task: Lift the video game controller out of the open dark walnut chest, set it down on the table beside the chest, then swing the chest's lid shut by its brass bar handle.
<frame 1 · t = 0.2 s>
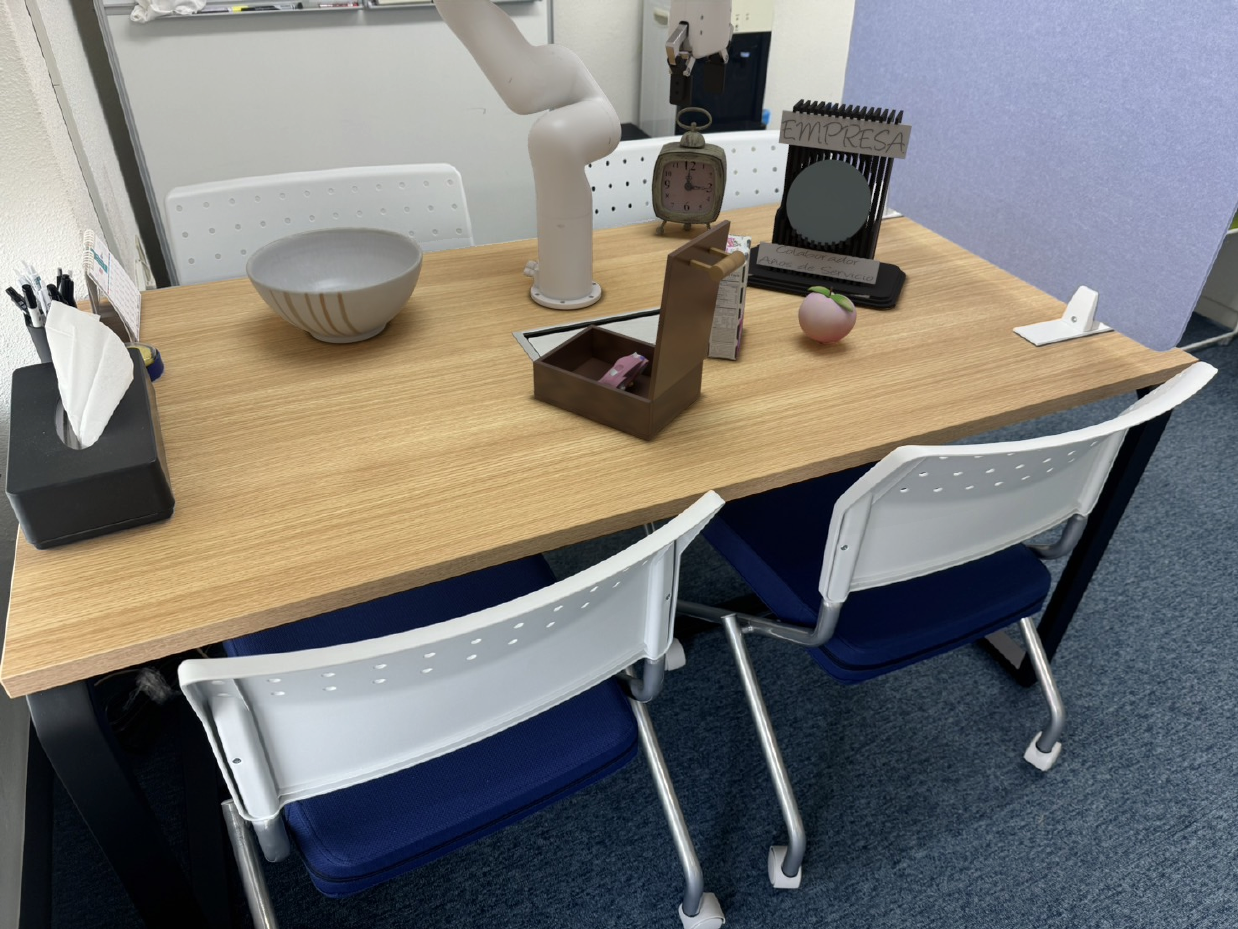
hand: (697, 98, 123), 37 cm above the table, tool pointing down, fingers open, 9 cm apart
decorative fruit: (820, 345, 141), on the table
candy bar box: (724, 344, 141), on the table
decorative bowl: (348, 327, 143), on the table
chest: (617, 396, 126), on the table
award: (817, 279, 163), on the table
tabletop clock: (686, 233, 181), on the table
chest lid: (704, 317, 111), point 16 cm above the table, hinge at 95.0°
video game controller: (617, 393, 126), point 1 cm above the table, touching chest
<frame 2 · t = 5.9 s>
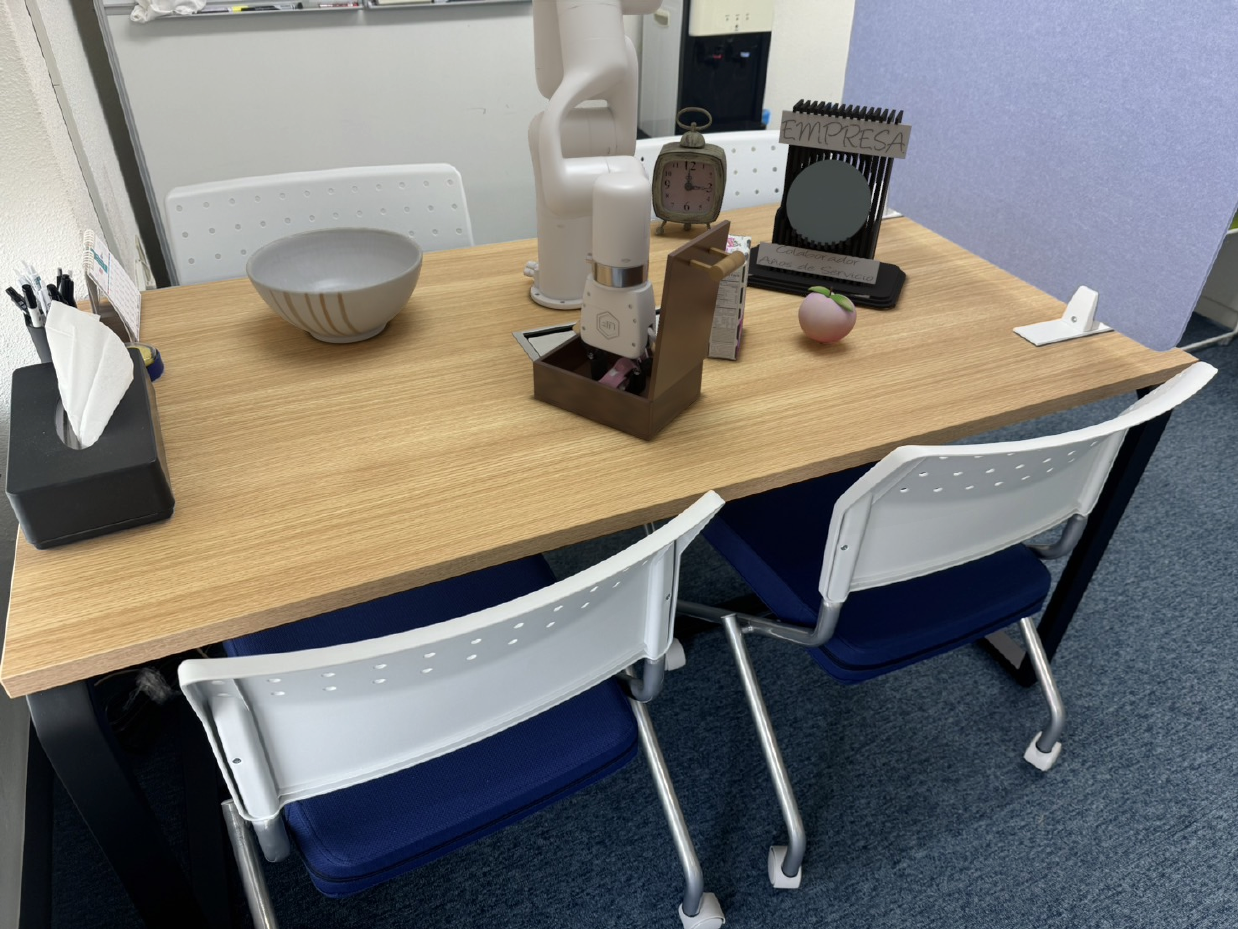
hand: (617, 386, 125), 2 cm above the table, tool pointing down, fingers closed on video game controller, 5 cm apart
video game controller: (618, 393, 126), point 1 cm above the table, touching chest, gripper
everything else where it was.
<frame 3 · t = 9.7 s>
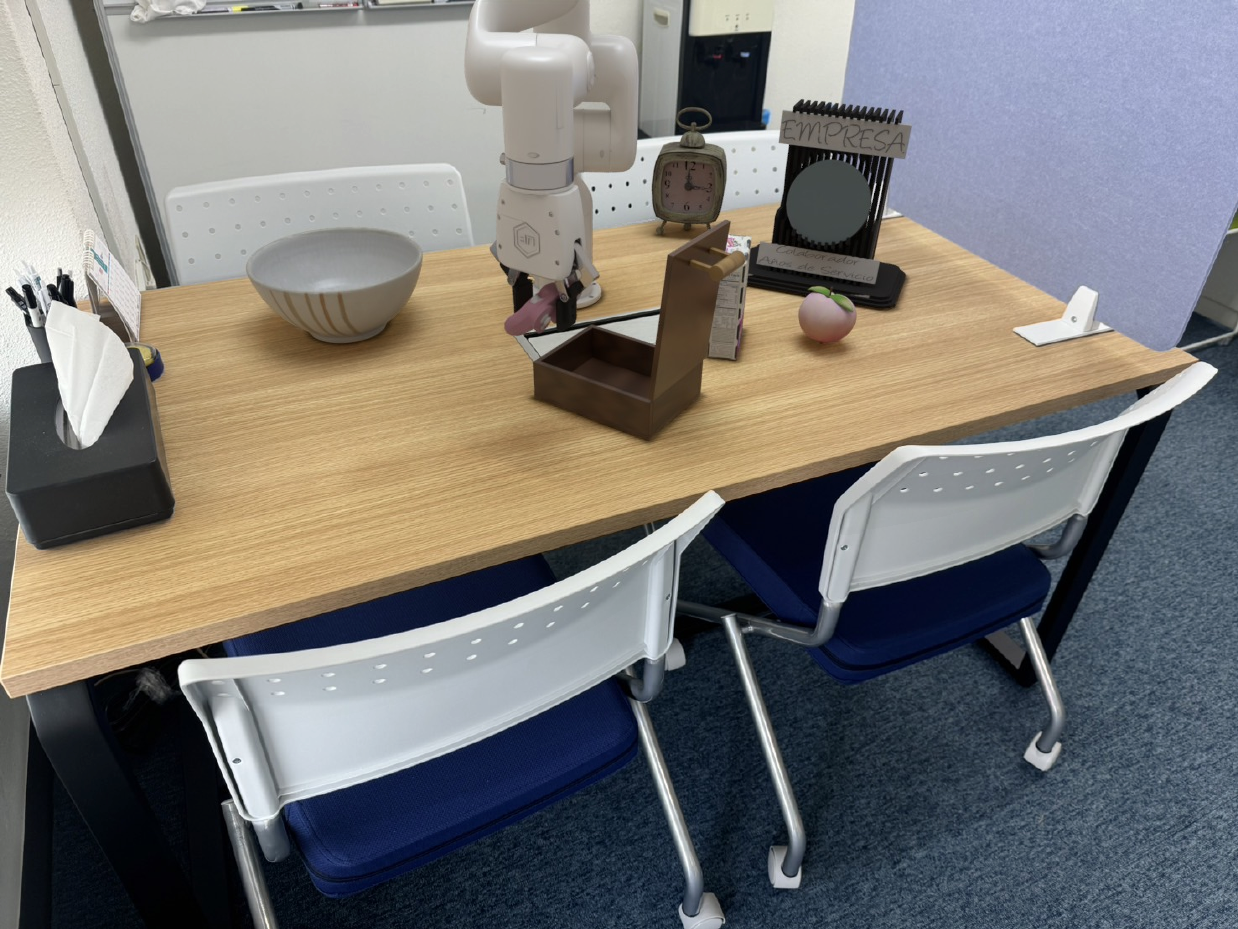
hand: (544, 318, 106), 18 cm above the table, tool pointing down, fingers closed on video game controller, 5 cm apart
video game controller: (545, 327, 106), point 17 cm above the table, touching gripper
everything else where it was.
when the fingers open (1 cm above the table, at t = 14.0 s): video game controller stays where it is, on the table.
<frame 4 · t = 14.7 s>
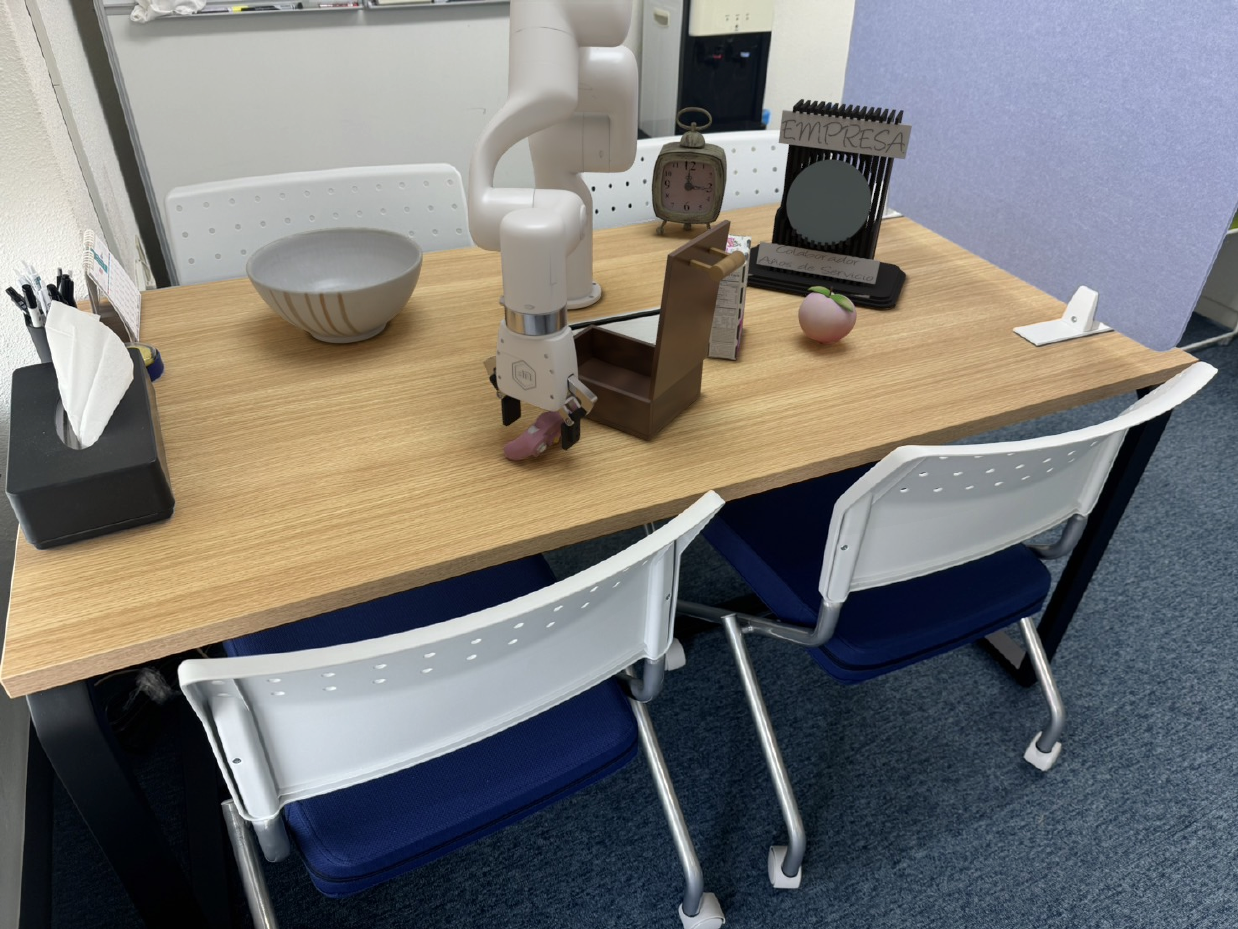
hand: (540, 433, 114), 2 cm above the table, tool pointing down, fingers open, 9 cm apart
video game controller: (541, 449, 115), on the table
everything else where it was.
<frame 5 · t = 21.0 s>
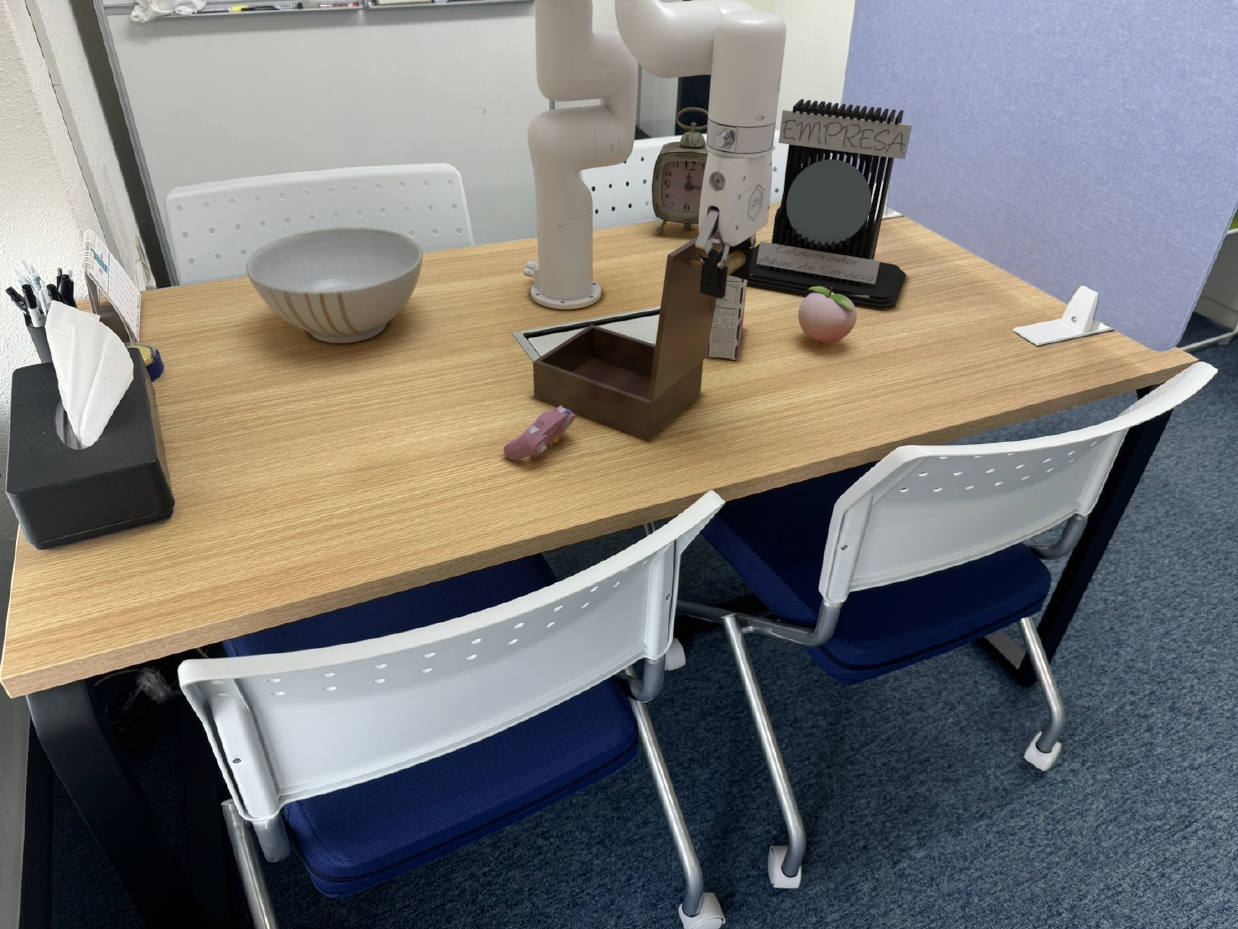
hand: (725, 284, 107), 22 cm above the table, tool pointing down, fingers closed on chest lid, 6 cm apart
chest lid: (704, 317, 111), point 16 cm above the table, hinge at 95.0°, touching gripper
everything else where it was.
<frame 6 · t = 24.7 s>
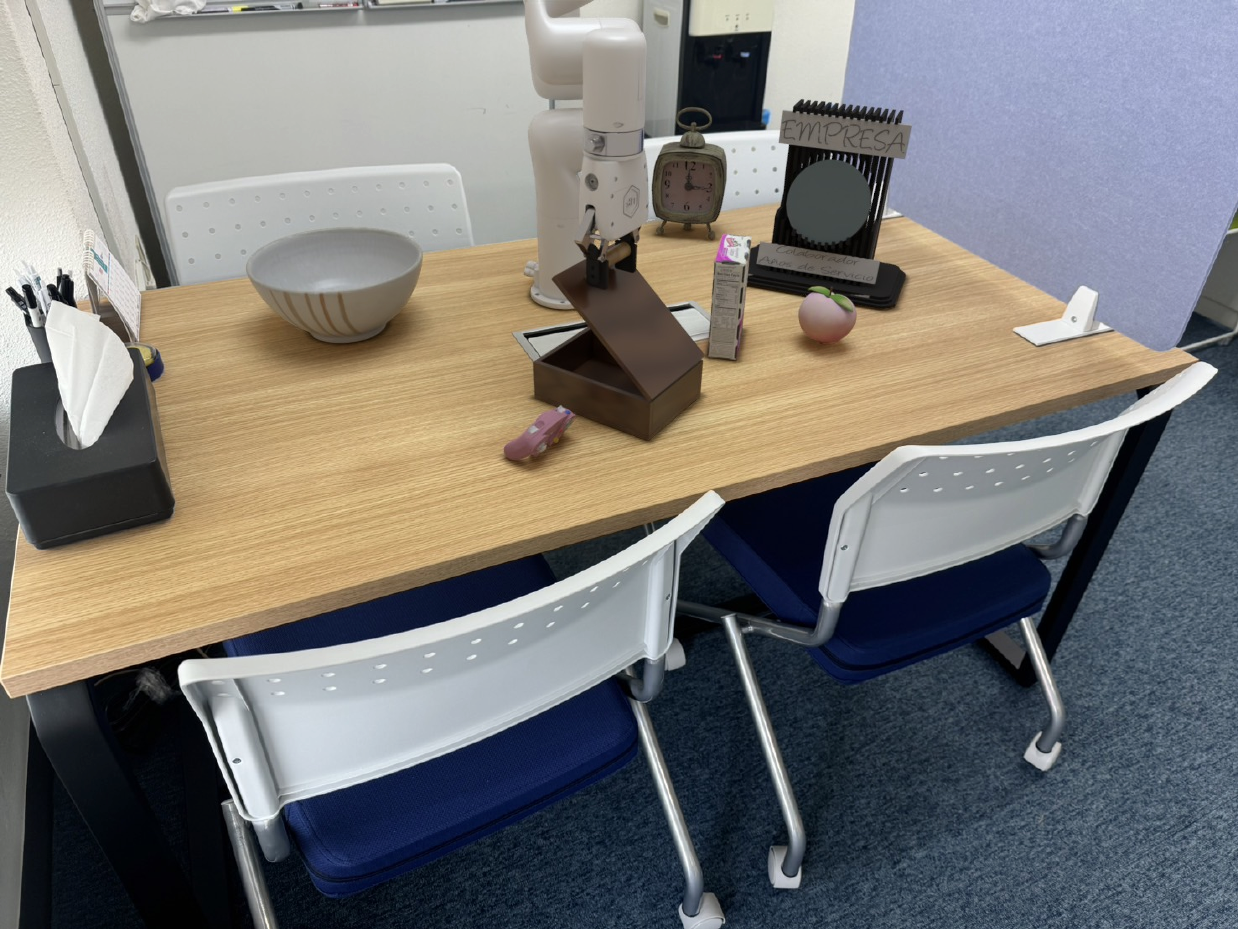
hand: (611, 277, 116), 18 cm above the table, tool pointing down, fingers closed on chest lid, 6 cm apart
chest lid: (641, 309, 116), point 15 cm above the table, hinge at 40.3°, touching gripper
everything else where it was.
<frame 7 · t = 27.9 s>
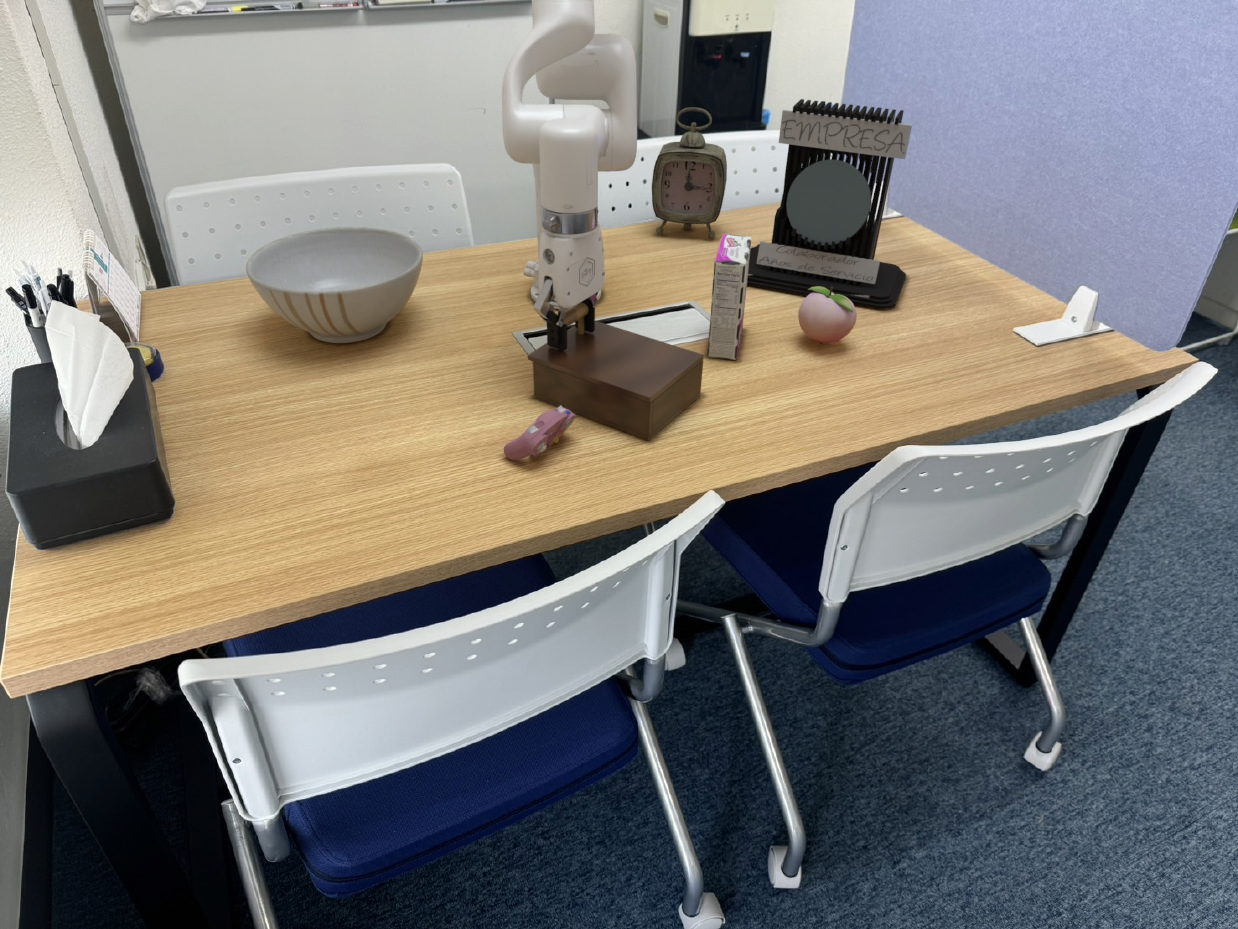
hand: (571, 337, 126), 7 cm above the table, tool pointing down, fingers closed on chest lid, 6 cm apart
chest lid: (616, 342, 122), point 9 cm above the table, hinge at -0.1°, touching chest, gripper
everything else where it was.
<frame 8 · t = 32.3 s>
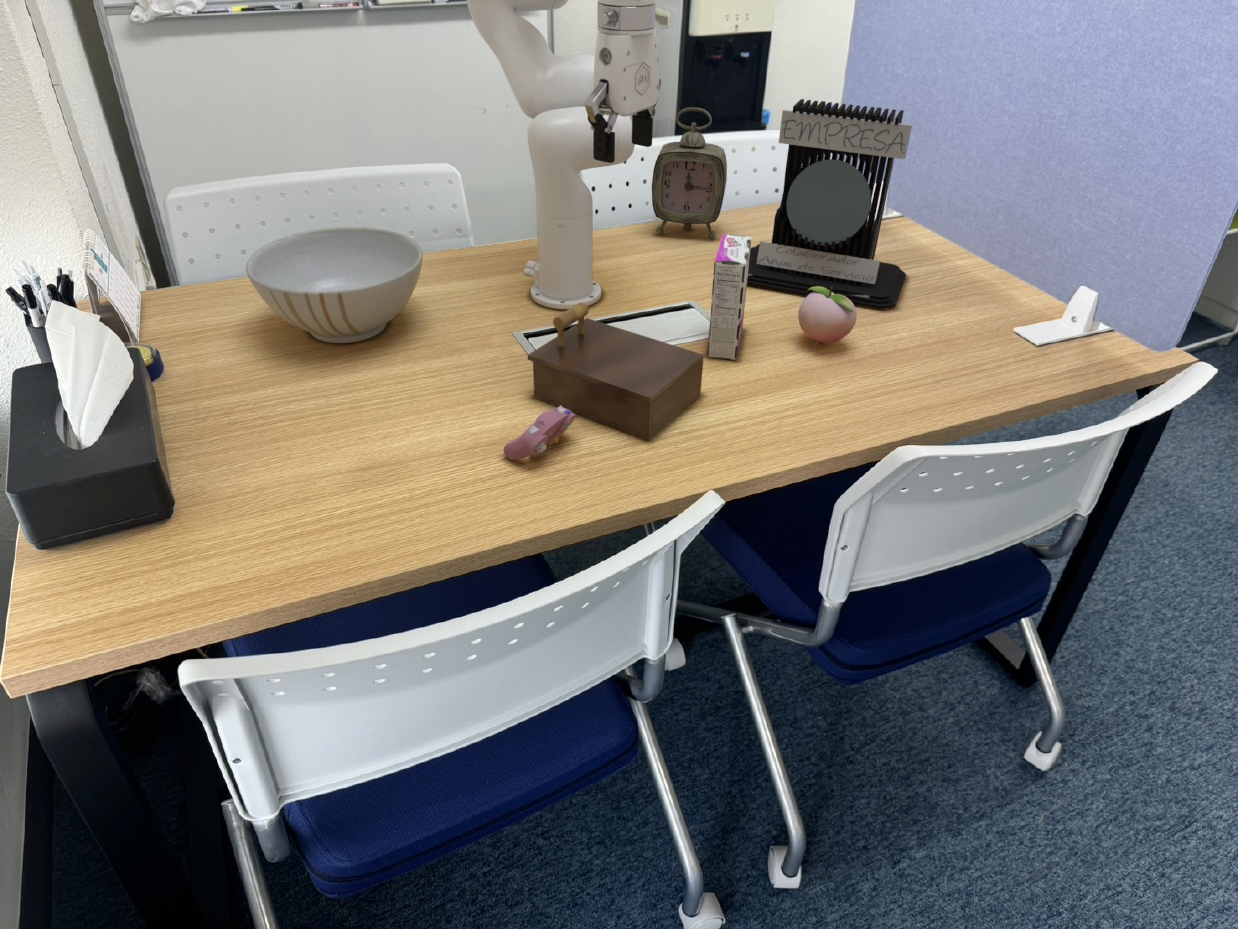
hand: (623, 152, 122), 30 cm above the table, tool pointing down, fingers open, 9 cm apart
chest lid: (616, 342, 122), point 9 cm above the table, hinge at -0.1°, touching chest
everything else where it was.
at the end: video game controller inside the target area (0.0 cm from its centre), on the table; video game controller tilted 0°; chest lid at +0° (first picture: +95°) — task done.
